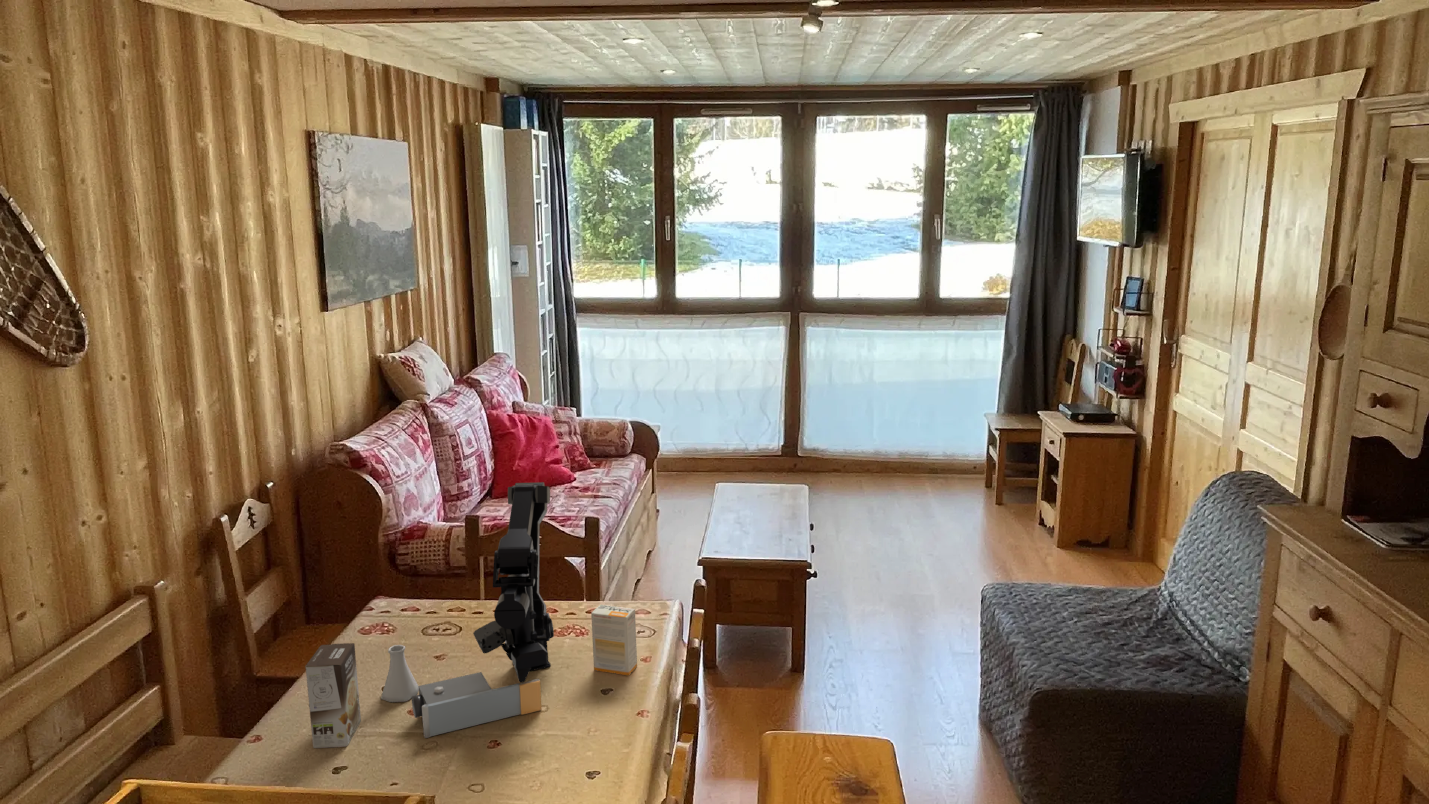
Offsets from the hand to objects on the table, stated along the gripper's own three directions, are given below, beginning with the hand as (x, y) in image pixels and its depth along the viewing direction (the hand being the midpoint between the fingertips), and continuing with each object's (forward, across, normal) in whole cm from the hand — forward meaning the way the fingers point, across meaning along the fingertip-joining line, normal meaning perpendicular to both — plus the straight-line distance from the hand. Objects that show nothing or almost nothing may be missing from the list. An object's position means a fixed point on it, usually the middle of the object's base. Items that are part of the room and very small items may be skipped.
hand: (521, 681), depth 194 cm
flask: (+4, -13, -21) cm, 25 cm away
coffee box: (+4, -3, -34) cm, 34 cm away
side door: (+4, +5, -9) cm, 11 cm away
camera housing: (+4, 0, -13) cm, 14 cm away
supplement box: (+4, -4, +21) cm, 22 cm away
